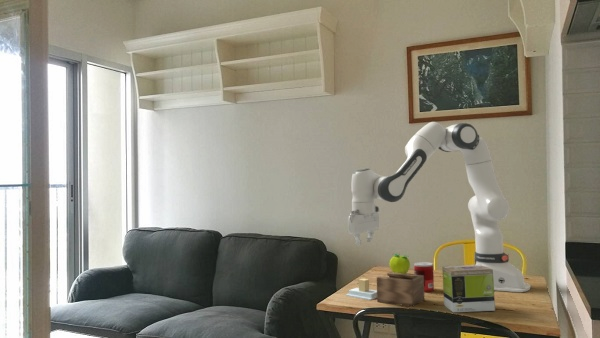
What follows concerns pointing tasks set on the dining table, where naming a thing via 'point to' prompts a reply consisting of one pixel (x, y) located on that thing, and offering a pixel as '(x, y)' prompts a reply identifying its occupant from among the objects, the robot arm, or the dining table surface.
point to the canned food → (425, 274)
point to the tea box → (468, 288)
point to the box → (400, 289)
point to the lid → (363, 291)
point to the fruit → (399, 264)
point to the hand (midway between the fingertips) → (364, 243)
